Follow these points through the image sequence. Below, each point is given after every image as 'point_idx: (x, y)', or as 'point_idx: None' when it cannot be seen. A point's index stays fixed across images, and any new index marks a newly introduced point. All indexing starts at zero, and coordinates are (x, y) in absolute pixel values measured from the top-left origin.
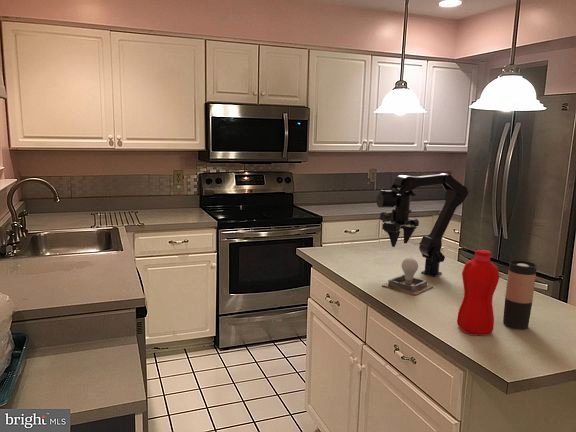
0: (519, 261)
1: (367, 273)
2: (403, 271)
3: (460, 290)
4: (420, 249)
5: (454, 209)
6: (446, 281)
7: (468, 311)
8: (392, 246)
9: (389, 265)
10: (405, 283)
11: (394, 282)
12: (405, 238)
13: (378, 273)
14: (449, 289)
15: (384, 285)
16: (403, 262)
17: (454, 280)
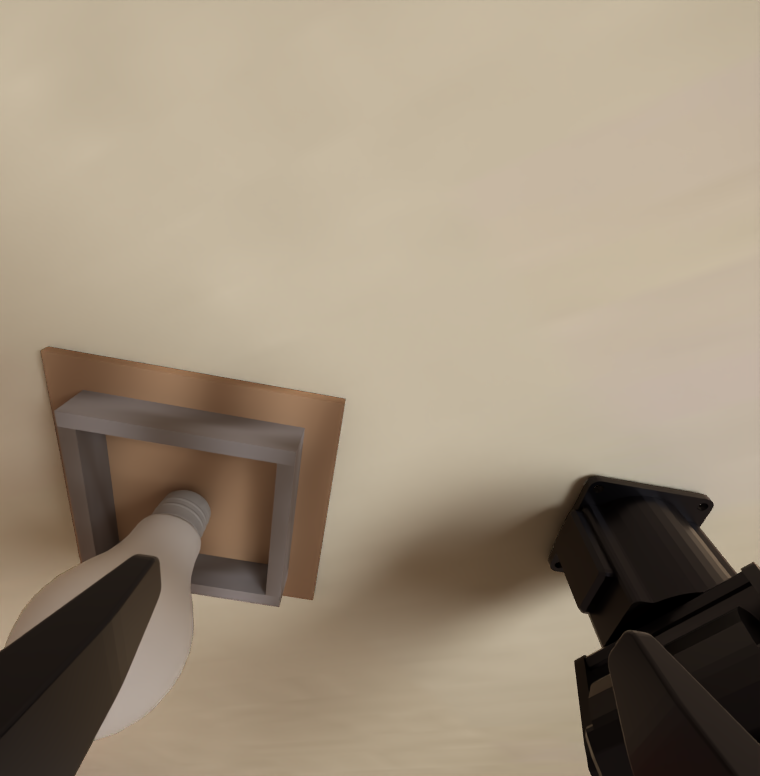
0: None
1: (269, 45)
2: (93, 557)
3: (367, 683)
4: (734, 656)
5: None
6: (485, 620)
7: None
8: (132, 565)
9: (755, 135)
10: (164, 499)
11: (67, 456)
12: (676, 772)
13: (357, 163)
14: (344, 650)
15: (49, 371)
16: (9, 642)
17: (534, 644)
